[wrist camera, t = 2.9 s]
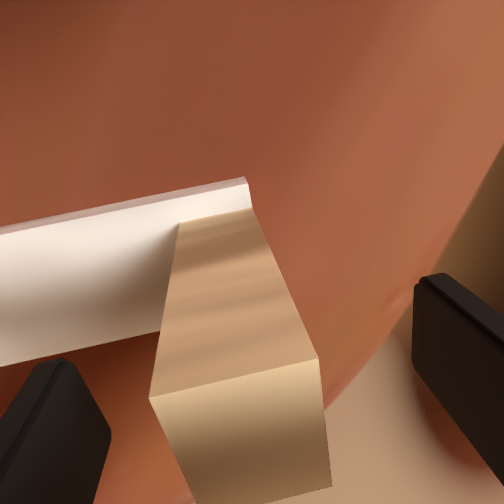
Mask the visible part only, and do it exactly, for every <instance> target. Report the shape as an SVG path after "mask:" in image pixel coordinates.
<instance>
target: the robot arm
mask: <svg viewBox="0 0 504 504" xmlns="http://www.w3.org/2000/svg"><path fill="white" fill-rule="evenodd" d="M412 363H413V366H414V368H415V370H416V371H417V373H418V374H419V375H420V377H421V378H422V379H423V381H424V382H425V383H426V384H427V386H428V387H429V389H430V390H431V391H432V392H433V394H434V395H435V396H436V398H437V399H438V400H439V402H440V403H441V404H442V406H443V407H444V408H445V410H446V411H447V412H448V414H449V415H450V416H451V417H452V419H453V420H454V421H455V422H456V424H457V425H458V427H459V428H460V429H461V431H462V432H463V433H464V435H465V436H466V437H467V439H468V440H469V441H470V442H471V444H472V445H473V446H474V448H475V449H476V450H477V452H478V453H479V454H480V456H481V457H482V458H483V460H484V461H485V462H486V463H487V465H488V466H489V467H490V469H491V470H492V471H493V473H494V474H495V475H496V477H497V478H498V479H499V481H500V482H501V483H502V484H503V486H504V316H503V315H502V314H501V313H499V312H498V311H497V310H495V309H494V308H492V307H491V306H490V305H488V304H487V303H486V302H484V301H483V300H481V299H480V298H479V297H477V296H476V295H475V294H473V293H472V292H471V291H469V290H468V289H466V288H465V287H464V286H463V285H461V284H460V283H458V282H457V281H456V280H454V279H453V278H452V277H450V276H449V275H447V274H446V273H438V274H434V275H430V276H425V277H422V278H420V280H419V284H416V285H415V286H414V298H413V328H412ZM110 443H111V429H110V427H109V425H108V423H107V421H106V419H105V418H104V416H103V414H102V412H101V411H100V409H99V407H98V405H97V403H96V402H95V400H94V398H93V396H92V395H91V393H90V391H89V389H88V387H87V386H86V384H85V382H84V380H83V379H82V377H81V375H80V373H79V371H78V370H77V368H76V366H75V365H74V363H72V362H68V361H67V360H66V359H64V358H59V359H55V360H50V361H46V362H41V363H39V364H37V365H36V366H35V368H34V369H33V371H32V372H31V374H30V375H29V377H28V378H27V380H26V381H25V383H24V384H23V386H22V387H21V389H20V390H19V392H18V393H17V395H16V397H15V398H14V400H13V401H12V403H11V404H10V406H9V407H8V409H7V410H6V412H5V413H4V415H3V416H2V418H1V419H0V504H93V501H94V498H95V494H96V491H97V487H98V484H99V481H100V477H101V474H102V470H103V467H104V463H105V460H106V456H107V453H108V450H109V446H110Z"/></svg>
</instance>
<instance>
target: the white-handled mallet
mask: <svg viewBox="0 0 504 504" xmlns="http://www.w3.org/2000/svg"><path fill="white" fill-rule="evenodd" d="M157 331H160V336H159V342H158V347H157V353H156V359H155V364H154V370H153V376H152V381H151V387H150V393H149V400H150V402H151V405H152V407H153V409H154V411H155V413H156V416H157V418H158V420H159V422H160V424H161V426H162V429H163V431H164V433H165V435H166V437H167V440H168V442H169V444H170V446H171V448H172V451H173V453H174V455H175V457H176V459H177V462H178V464H179V466H180V468H181V470H182V472H183V475H184V477H185V479H186V481H187V483H188V486H189V488H190V490H191V492H192V494H193V497H194V499H195V501H196V503H197V504H265V503H269V502H273V501H277V500H281V499H284V498H288V497H292V496H296V495H300V494H304V493H308V492H312V491H316V490H320V489H324V488H328V487H332V479H331V470H330V461H329V452H328V442H327V434H326V424H325V416H324V406H323V397H322V388H321V379H320V370H319V361H318V357H317V354H316V352H315V350H314V347H313V345H312V343H311V341H310V338H309V336H308V334H307V331H306V329H305V327H304V325H303V322H302V320H301V318H300V315H299V313H298V311H297V309H296V306H295V304H294V302H293V299H292V297H291V295H290V293H289V290H288V288H287V286H286V283H285V281H284V279H283V277H282V274H281V272H280V270H279V268H278V265H277V263H276V261H275V258H274V256H273V254H272V252H271V249H270V247H269V245H268V242H267V240H266V238H265V236H264V233H263V231H262V229H261V226H260V224H259V222H258V220H257V217H256V215H255V213H254V210H253V208H252V204H251V198H250V193H249V187H248V183H247V181H246V179H245V177H240V178H235V179H230V180H225V181H221V182H216V183H211V184H206V185H201V186H196V187H191V188H187V189H182V190H177V191H172V192H167V193H162V194H158V195H153V196H148V197H143V198H138V199H133V200H129V201H124V202H119V203H114V204H109V205H104V206H100V207H95V208H90V209H85V210H80V211H75V212H70V213H66V214H61V215H56V216H51V217H46V218H41V219H37V220H32V221H27V222H22V223H17V224H12V225H8V226H3V227H0V367H2V366H6V365H10V364H15V363H19V362H24V361H28V360H33V359H37V358H41V357H46V356H50V355H55V354H59V353H64V352H68V351H72V350H77V349H81V348H86V347H90V346H95V345H99V344H104V343H108V342H112V341H117V340H121V339H126V338H130V337H135V336H139V335H143V334H148V333H152V332H157Z"/></svg>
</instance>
